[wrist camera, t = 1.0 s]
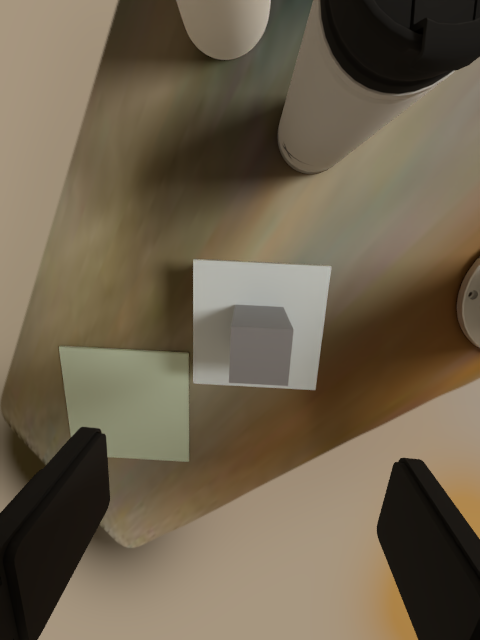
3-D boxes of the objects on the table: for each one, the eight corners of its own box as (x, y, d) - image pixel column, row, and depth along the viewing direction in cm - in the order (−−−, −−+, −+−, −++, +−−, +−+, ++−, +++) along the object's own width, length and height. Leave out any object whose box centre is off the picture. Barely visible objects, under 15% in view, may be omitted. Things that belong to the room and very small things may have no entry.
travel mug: (277, 180, 28) (339, 66, 8) (276, 95, 26) (356, -294, 7) (346, 177, 27) (572, 52, 8) (351, 91, 26) (656, -326, 6)
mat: (188, 352, 33) (188, 353, 32) (189, 459, 37) (188, 461, 36) (60, 345, 33) (58, 347, 33) (75, 452, 37) (73, 455, 37)
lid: (328, 265, 25) (357, 277, 18) (313, 385, 28) (333, 433, 21) (194, 258, 25) (175, 268, 18) (194, 379, 28) (178, 424, 22)
